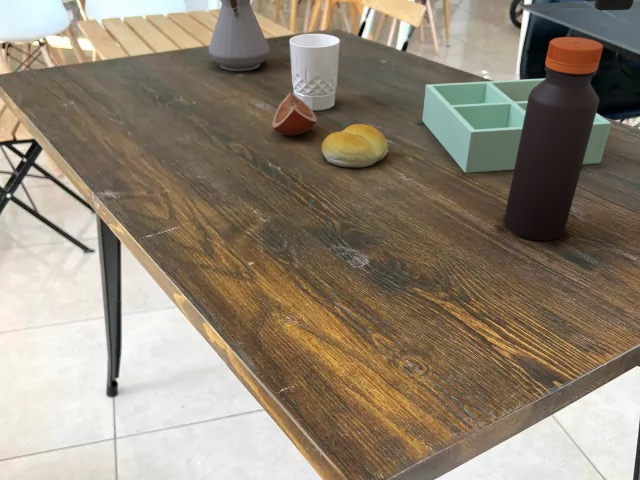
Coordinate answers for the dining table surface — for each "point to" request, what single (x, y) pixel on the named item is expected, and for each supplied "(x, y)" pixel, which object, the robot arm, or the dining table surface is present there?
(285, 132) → the fruit slice
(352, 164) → the bread roll
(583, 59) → the vinegar
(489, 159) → the green compartment tray
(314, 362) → the dining table surface
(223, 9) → the coffee pot
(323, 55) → the white cup
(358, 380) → the dining table surface
